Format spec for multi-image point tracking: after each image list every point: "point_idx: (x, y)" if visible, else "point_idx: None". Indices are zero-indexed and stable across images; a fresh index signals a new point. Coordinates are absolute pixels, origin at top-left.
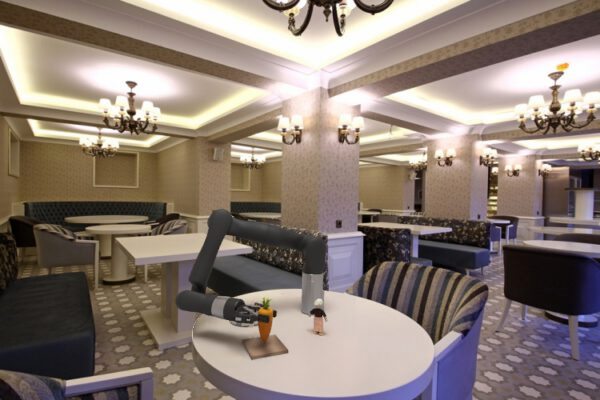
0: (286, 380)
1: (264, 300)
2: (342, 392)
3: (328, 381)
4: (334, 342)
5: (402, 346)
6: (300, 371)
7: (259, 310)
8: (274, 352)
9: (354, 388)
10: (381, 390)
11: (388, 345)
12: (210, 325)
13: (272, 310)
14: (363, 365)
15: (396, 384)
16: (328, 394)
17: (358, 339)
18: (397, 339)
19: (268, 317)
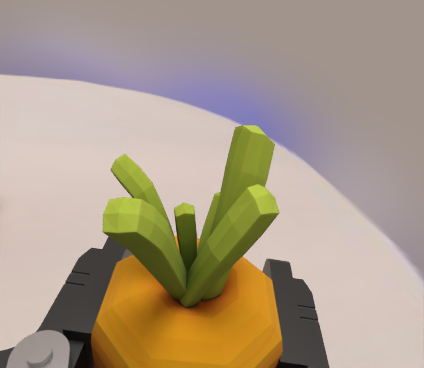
0: (368, 280)
1: (264, 188)
2: (319, 180)
3: (298, 197)
4: (66, 186)
5: (85, 101)
6: (296, 253)
7: (246, 366)
8: None
9: (292, 166)
10: (272, 141)
11: (81, 113)
12: None
13: (174, 236)
14: (194, 149)
15: None
16: (344, 197)
17: (43, 144)
18: (47, 100)
19: (287, 266)
